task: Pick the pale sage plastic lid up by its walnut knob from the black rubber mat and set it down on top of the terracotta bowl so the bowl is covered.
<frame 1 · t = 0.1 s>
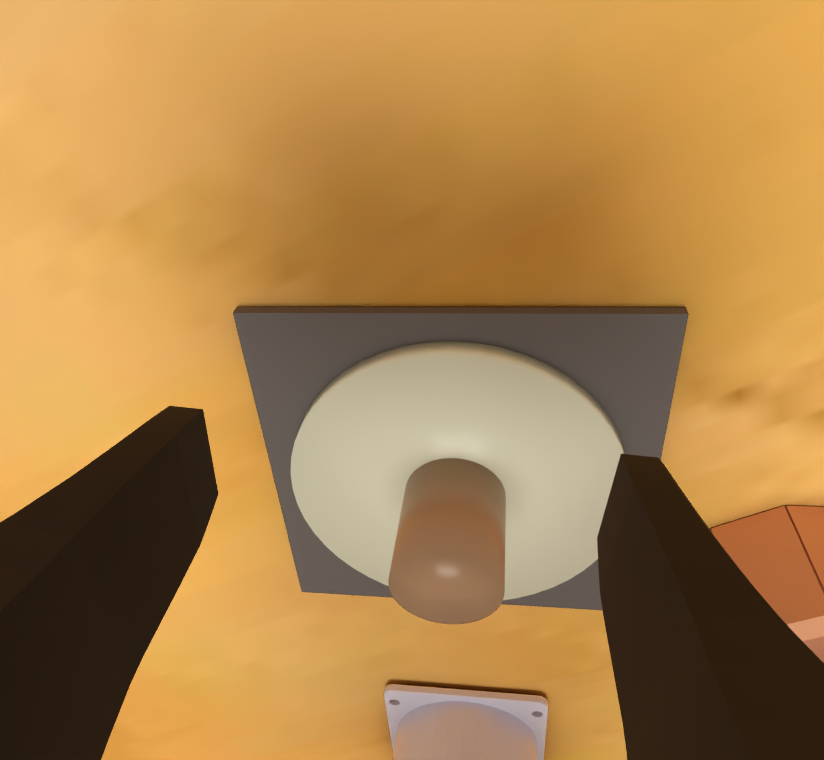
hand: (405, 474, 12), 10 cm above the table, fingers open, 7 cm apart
mat: (457, 473, 25), on the table
lid: (456, 480, 25), resting on mat
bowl: (789, 597, 27), on the table
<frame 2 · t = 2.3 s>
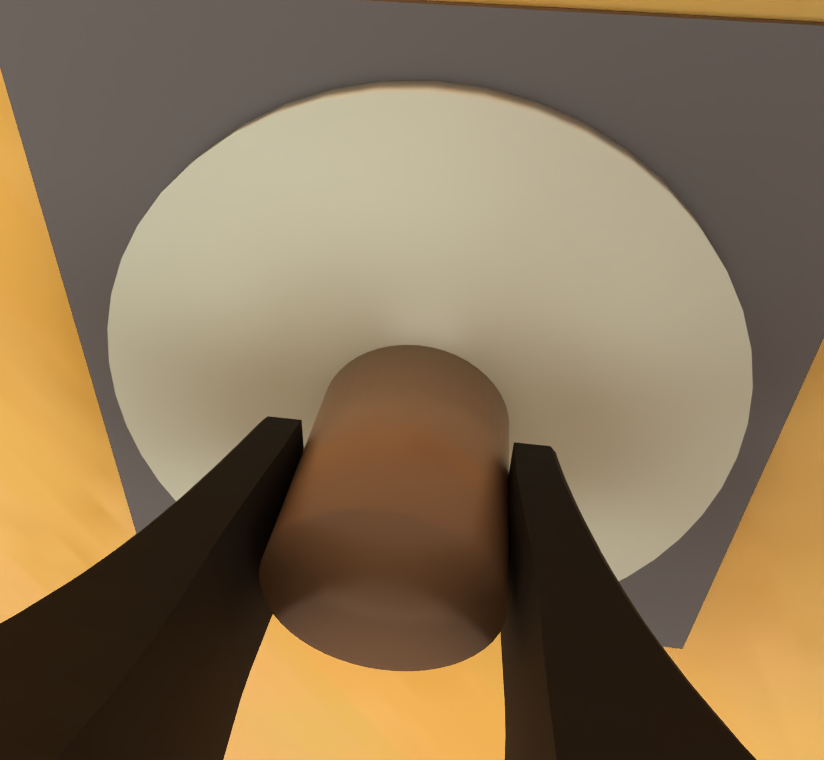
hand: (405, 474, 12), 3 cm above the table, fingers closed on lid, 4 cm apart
mat: (421, 388, 14), on the table
lid: (419, 399, 14), resting on mat, touching gripper
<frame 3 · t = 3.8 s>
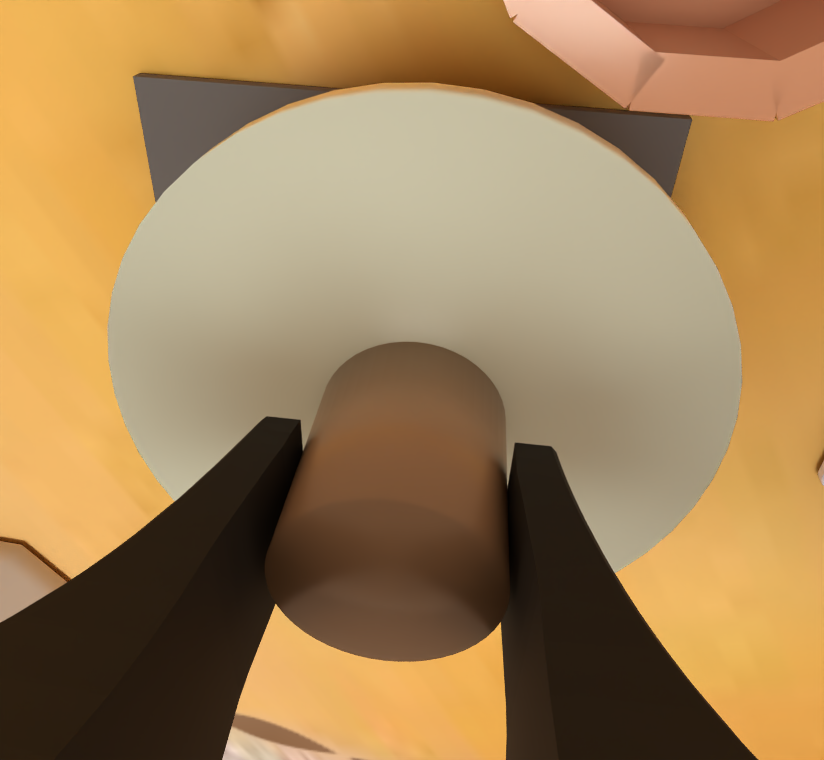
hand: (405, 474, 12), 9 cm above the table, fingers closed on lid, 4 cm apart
mat: (397, 330, 21), on the table
flask: (9, 579, 32), on the table
lid: (416, 396, 14), point 7 cm above the table, touching gripper
when the fingers open (8 cm above the table, at t = 5.7 s): lid stays where it is, resting on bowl.
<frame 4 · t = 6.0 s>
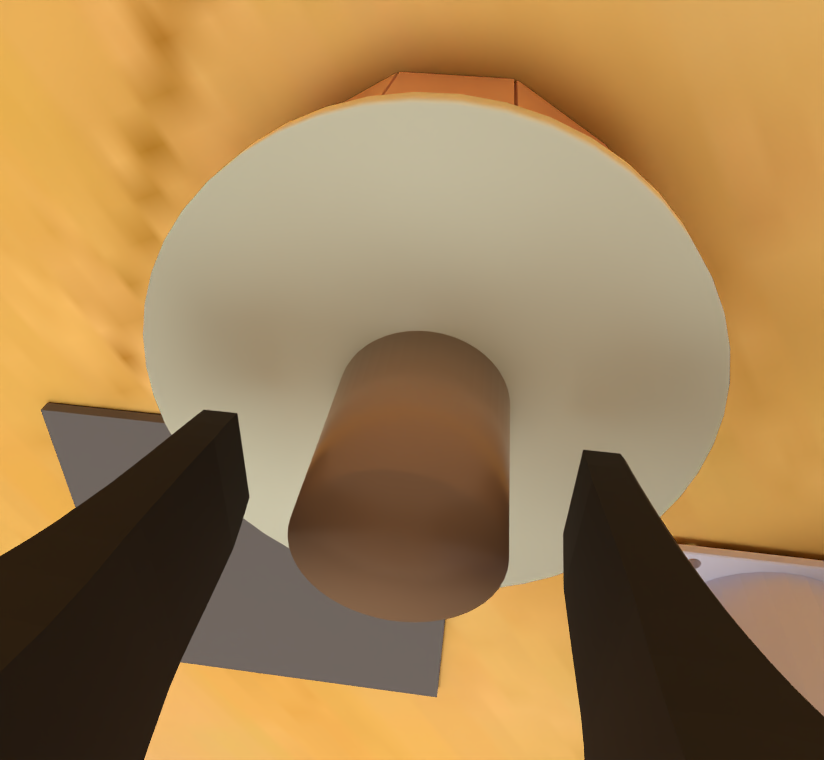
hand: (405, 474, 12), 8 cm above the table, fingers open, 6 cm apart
mat: (268, 564, 26), on the table
lid: (427, 382, 15), point 4 cm above the table, touching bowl
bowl: (443, 274, 18), on the table
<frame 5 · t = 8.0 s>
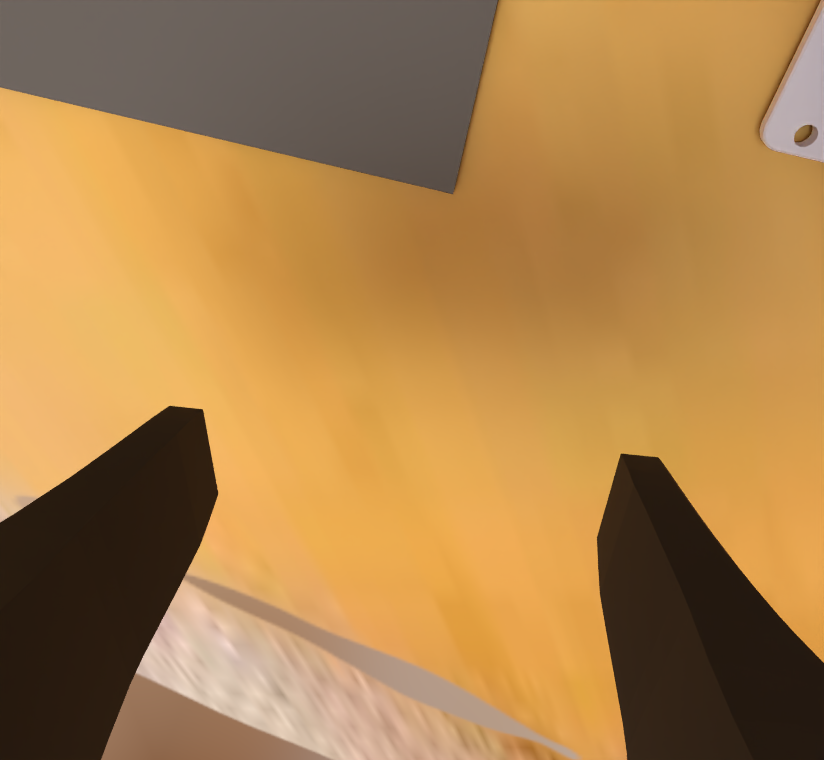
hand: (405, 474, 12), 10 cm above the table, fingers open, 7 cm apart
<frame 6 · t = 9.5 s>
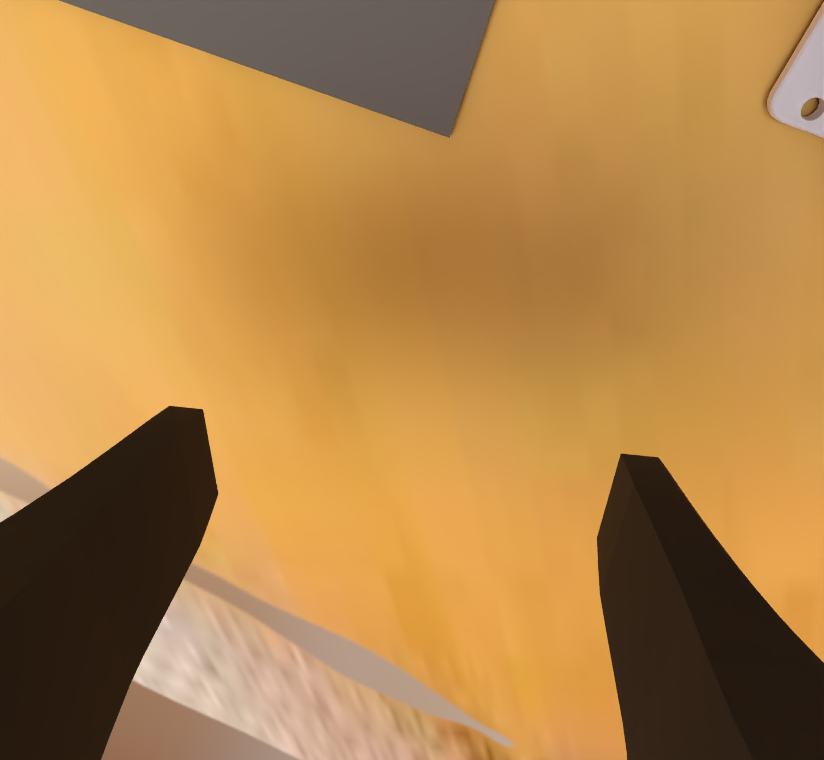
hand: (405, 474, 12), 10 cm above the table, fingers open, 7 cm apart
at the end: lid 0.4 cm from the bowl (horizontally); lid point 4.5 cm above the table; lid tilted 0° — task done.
